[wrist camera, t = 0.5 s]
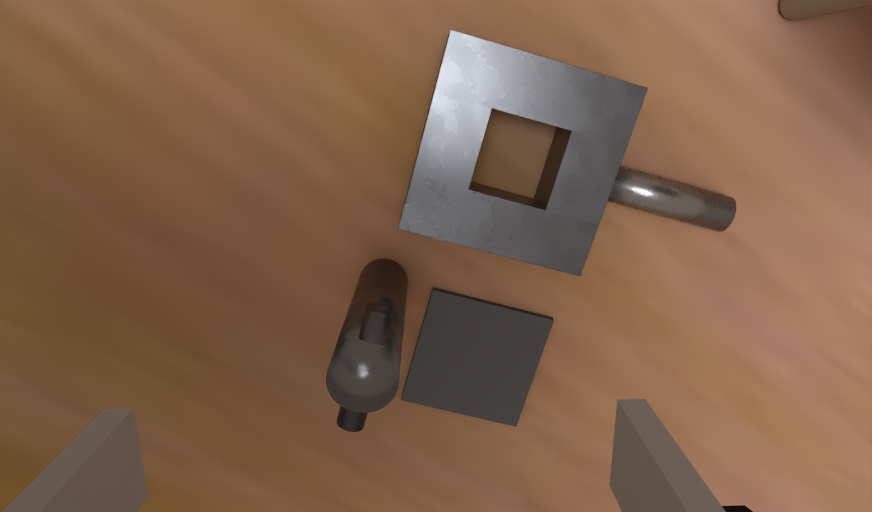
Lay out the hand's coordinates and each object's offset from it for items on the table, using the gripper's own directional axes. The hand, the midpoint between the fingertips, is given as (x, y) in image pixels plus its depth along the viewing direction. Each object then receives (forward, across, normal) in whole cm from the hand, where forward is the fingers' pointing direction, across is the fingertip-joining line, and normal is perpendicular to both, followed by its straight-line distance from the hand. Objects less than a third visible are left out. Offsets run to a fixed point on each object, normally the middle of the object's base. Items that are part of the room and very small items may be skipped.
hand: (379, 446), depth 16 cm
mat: (+25, +5, -10) cm, 27 cm away
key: (+25, -2, -4) cm, 26 cm away
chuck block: (+25, +11, +4) cm, 28 cm away
